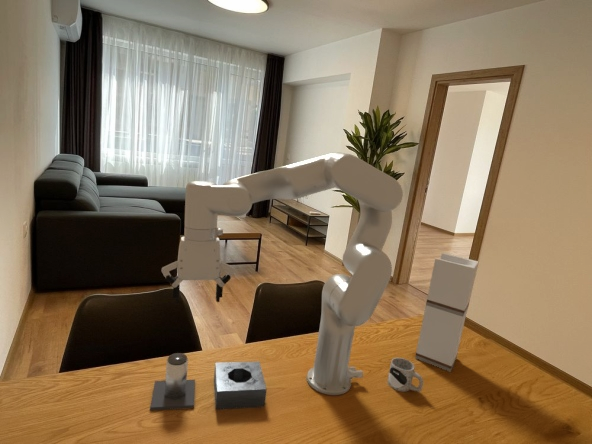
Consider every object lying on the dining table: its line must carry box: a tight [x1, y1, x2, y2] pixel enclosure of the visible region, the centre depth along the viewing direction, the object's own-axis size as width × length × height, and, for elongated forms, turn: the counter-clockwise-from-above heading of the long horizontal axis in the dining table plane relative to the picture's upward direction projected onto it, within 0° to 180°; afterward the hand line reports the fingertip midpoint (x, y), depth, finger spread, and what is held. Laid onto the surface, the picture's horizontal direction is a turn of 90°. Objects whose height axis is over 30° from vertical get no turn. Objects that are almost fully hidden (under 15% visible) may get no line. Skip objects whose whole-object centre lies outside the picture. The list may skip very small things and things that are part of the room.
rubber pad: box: [149, 379, 196, 411], centre depth 95 cm, size 10×10×1 cm
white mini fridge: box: [414, 252, 479, 373], centre depth 125 cm, size 11×11×35 cm
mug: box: [387, 357, 424, 393], centre depth 110 cm, size 10×7×7 cm
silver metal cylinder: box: [164, 352, 189, 399], centre depth 94 cm, size 5×5×10 cm
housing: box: [213, 361, 268, 411], centre depth 98 cm, size 12×12×5 cm
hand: (197, 300), depth 94 cm, fingers open, 9 cm apart
